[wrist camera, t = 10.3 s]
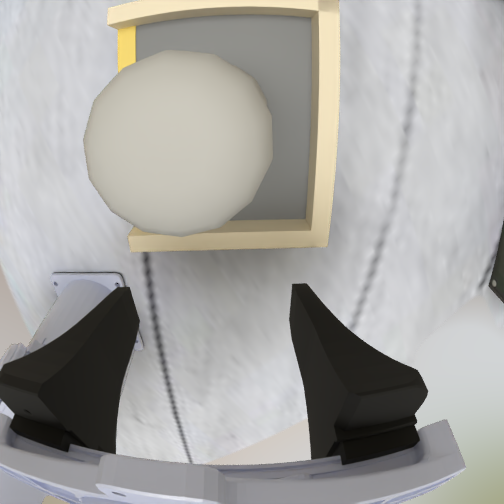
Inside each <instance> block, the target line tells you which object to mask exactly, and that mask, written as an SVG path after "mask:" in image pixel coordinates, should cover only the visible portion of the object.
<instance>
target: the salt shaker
mask: <svg viewBox="0 0 504 504" xmlns="http://www.w3.org/2000/svg"><path fill="white" fill-rule="evenodd" d="M83 142H84V149H85V156H86V163H87V169H88V175H89V180H90V181H91V183H92V184H93V186H94V187H95V189H96V190H97V191H98V193H99V194H100V196H101V197H102V199H103V200H104V202H105V203H106V205H107V206H108V207H109V209H110V210H111V211H112V212H113V213H115V214H116V215H118V216H120V217H121V218H123V219H124V220H126V221H127V222H129V223H130V224H132V225H133V226H135V227H137V228H138V229H140V230H141V231H143V232H148V233H155V234H163V235H170V236H177V237H185V236H189V235H192V234H196V233H200V232H204V231H208V230H212V229H216V228H220V227H222V226H223V225H224V224H225V223H226V222H228V221H229V220H230V219H231V218H232V217H234V216H235V215H236V214H237V213H238V212H240V211H241V210H242V209H243V208H244V207H246V206H247V205H248V204H249V203H251V202H252V200H253V198H254V196H255V194H256V192H257V190H258V188H259V186H260V184H261V182H262V180H263V178H264V176H265V174H266V172H267V170H268V168H269V166H270V164H271V162H272V159H273V139H272V115H271V113H270V111H269V109H268V107H267V100H266V98H265V96H264V94H263V92H262V90H261V88H260V86H259V85H258V83H257V81H256V79H255V78H253V77H252V76H250V75H249V74H247V73H246V72H244V71H243V70H241V69H240V68H238V67H237V66H235V65H231V64H230V63H228V62H227V61H225V60H223V59H222V58H220V57H219V56H217V55H215V54H208V53H200V52H191V51H180V50H165V51H162V52H160V53H157V54H155V55H152V56H150V57H147V58H145V59H142V60H140V61H138V62H135V63H133V64H131V65H129V66H127V67H124V68H123V69H122V70H121V71H120V72H119V73H118V74H117V75H116V76H115V77H114V78H113V79H112V80H111V82H110V83H109V84H108V85H107V86H106V87H105V88H104V89H103V90H102V92H101V93H100V94H99V95H98V96H97V97H96V99H95V100H94V102H93V106H92V109H91V112H90V116H89V120H88V123H87V127H86V131H85V135H84V139H83Z"/></svg>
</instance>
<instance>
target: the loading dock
mask: <svg viewBox="0 0 504 504" xmlns="http://www.w3.org/2000/svg"><path fill="white" fill-rule="evenodd" d="M107 25H108V26H111V27H113V28H115V29H117V30H118V73H119V72H120V71H121V70H122V69H123V68H124V67H127V66H129V65H131V64H133V63H135V62H138V61H140V60H142V59H145V58H147V57H150V56H152V55H155V54H157V53H160V52H162V51H165V50H180V51H191V52H200V53H208V54H215V55H217V56H219V57H220V58H222V59H223V60H225V61H227V62H228V63H230V64H231V65H235V66H237V67H238V68H240V69H241V70H243V71H244V72H246V73H247V74H249V75H250V76H252V77H253V78H255V79H256V81H257V83H258V85H259V86H260V88H261V90H262V92H263V94H264V96H265V98H266V100H267V107H268V109H269V111H270V113H271V115H272V139H273V159H272V162H271V164H270V166H269V168H268V170H267V172H266V174H265V176H264V178H263V180H262V182H261V184H260V186H259V188H258V190H257V192H256V194H255V196H254V198H253V200H252V202H251V203H249V204H248V205H247V206H246V207H244V208H243V209H242V210H241V211H240V212H238V213H237V214H236V215H235V216H234V217H232V218H231V219H230V220H229V221H228V222H226V223H225V224H224V225H223V226H222V227H220V228H216V229H212V230H208V231H204V232H200V233H196V234H192V235H189V236H185V237H177V236H170V235H163V234H155V233H148V232H143V231H141V230H140V229H138V228H137V227H135V226H134V227H133V229H132V230H131V232H130V233H129V235H128V236H127V237H128V242H129V246H130V251H131V252H159V251H194V250H231V249H269V248H309V247H327V246H328V238H329V230H330V221H331V212H332V202H333V192H334V181H335V169H336V155H337V140H338V122H339V96H340V20H339V0H139V1H134V2H130V3H126V4H122V5H118V6H114V7H110V8H108V19H107Z"/></svg>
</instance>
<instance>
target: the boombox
mask: <svg viewBox="0 0 504 504" xmlns="http://www.w3.org/2000/svg"><path fill="white" fill-rule="evenodd" d="M489 287H490V288H491V289H492V290H493V292H494V293H495V294H496V295H497V296H498V297H499V298H500V299H501V301H502V302H503V303H504V221H503V227H502V232H501V238H500V242H499V247H498V251H497V256H496V260H495V264H494V268H493V272H492V275H491V279H490V282H489Z"/></svg>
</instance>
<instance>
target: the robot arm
mask: <svg viewBox="0 0 504 504" xmlns="http://www.w3.org/2000/svg"><path fill="white" fill-rule="evenodd" d="M50 279H51V282H52V285H53V287H54V290H55V292H56V294H57V297H58V298H57V300H56V301H55V303H54V304H53V306H52V308H51V309H50V311H49V312H48V314H47V315H46V317H45V318H44V320H43V322H42V323H41V325H40V326H39V328H38V330H37V331H36V333H35V335H34V336H33V338H32V340H31V341H30V343H29V345H28V346H27V347H25V346H24V345H23V344H22V343H18V344H12V345H10V347H9V348H8V349H7V350H6V352H5V353H4V355H3V356H2V358H1V359H0V504H42V502H43V500H44V498H45V497H46V496H49V495H51V496H53V497H55V498H58V499H60V500H62V501H65V502H68V503H70V504H399V503H402V502H405V501H407V500H410V499H413V498H415V497H418V496H420V495H423V494H425V493H427V492H430V491H432V490H435V489H436V488H438V487H440V486H441V485H443V484H444V483H446V482H448V481H449V480H451V479H452V478H454V477H455V476H457V475H458V474H459V473H461V472H462V471H464V470H465V468H466V466H465V463H464V460H463V458H462V455H461V453H460V450H459V447H458V445H457V442H456V440H455V438H454V435H453V433H452V430H451V428H450V426H449V423H448V421H447V420H442V421H439V422H436V423H434V424H430V425H427V426H425V427H423V428H421V429H419V430H418V431H417V430H416V428H415V426H414V425H415V424H416V423H417V419H416V417H415V413H416V412H417V410H418V409H419V408H420V406H421V405H422V404H423V402H424V400H425V399H426V397H427V393H428V390H427V388H426V386H425V383H424V381H423V379H422V377H421V375H420V374H419V372H418V370H416V369H414V368H412V367H409V366H407V365H405V364H402V363H400V362H398V361H396V360H394V359H392V358H390V357H388V356H386V355H384V354H383V353H381V352H379V351H378V350H376V349H375V348H373V347H372V346H370V345H368V344H367V343H366V342H364V341H363V340H361V339H360V338H359V337H358V336H356V335H355V334H354V333H352V332H351V331H350V330H349V329H348V328H347V327H345V326H344V325H343V324H342V323H341V322H340V321H339V320H338V319H337V318H336V317H335V316H334V315H333V314H332V313H331V311H330V310H329V309H328V308H327V307H326V306H325V305H324V304H323V303H322V301H321V300H320V299H319V298H318V297H317V295H316V294H315V293H314V292H313V291H312V289H311V288H310V287H309V286H308V285H307V284H306V283H303V284H292V295H291V306H290V317H289V321H290V329H291V336H292V342H293V345H294V349H295V353H296V357H297V361H298V365H299V368H300V372H301V376H302V380H303V385H304V391H305V398H306V406H307V414H308V423H309V433H310V444H311V460H306V461H297V462H287V463H275V464H259V465H202V464H190V463H178V462H167V461H158V460H150V459H143V458H136V457H130V456H124V455H117V454H116V437H117V416H118V408H119V400H120V396H121V394H122V391H123V388H124V384H125V381H126V377H127V374H128V370H129V367H130V364H131V360H132V357H133V354H134V351H135V350H137V351H141V350H143V348H144V345H143V342H142V339H141V336H140V334H139V331H138V328H139V322H140V320H139V317H138V314H137V311H136V307H135V304H134V301H133V297H132V294H131V290H130V287H125V286H124V283H123V279H122V276H121V275H120V274H118V273H53V274H52V275H51V276H50ZM56 282H57V283H56ZM116 282H117V283H119V284H120V285H118V284H117V283H116Z"/></svg>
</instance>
